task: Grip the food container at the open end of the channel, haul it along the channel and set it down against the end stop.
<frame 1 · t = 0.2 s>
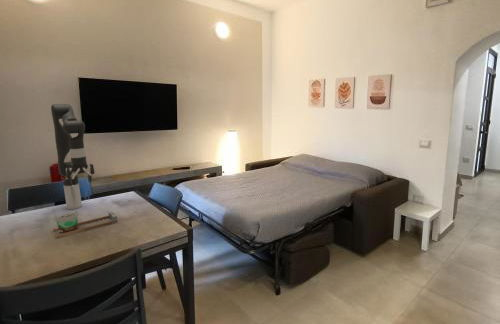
hand: (81, 183, 164), 28 cm above the table, tool pointing down, fingers open, 8 cm apart
guide channel: (87, 226, 172), on the table
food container: (70, 231, 167), resting in guide channel
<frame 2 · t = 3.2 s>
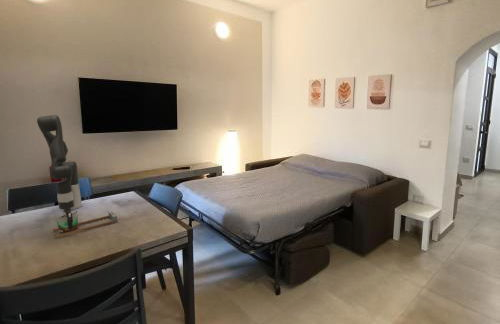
hand: (69, 226, 167), 2 cm above the table, tool pointing down, fingers closed on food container, 5 cm apart
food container: (70, 231, 167), resting in guide channel, touching gripper
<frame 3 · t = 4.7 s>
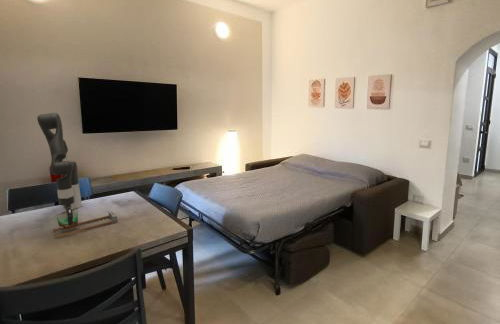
hand: (70, 222, 166), 5 cm above the table, tool pointing down, fingers closed on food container, 5 cm apart
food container: (70, 227, 166), point 2 cm above the table, touching gripper
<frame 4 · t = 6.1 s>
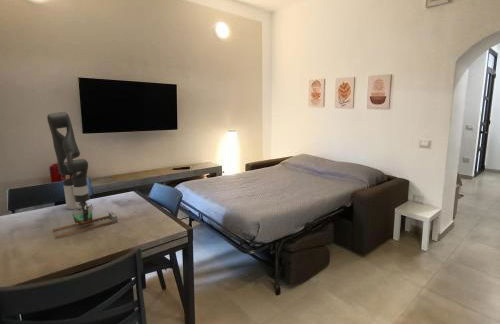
hand: (85, 219, 171), 5 cm above the table, tool pointing down, fingers closed on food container, 5 cm apart
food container: (85, 223, 171), point 2 cm above the table, touching gripper
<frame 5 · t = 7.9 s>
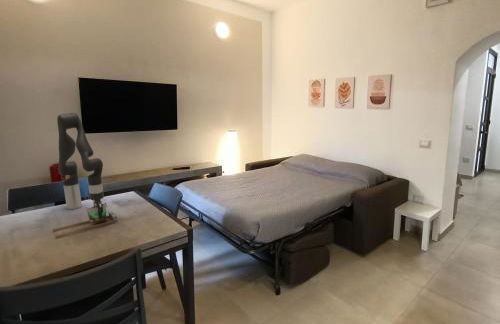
hand: (99, 216, 176), 4 cm above the table, tool pointing down, fingers closed on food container, 5 cm apart
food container: (100, 221, 176), point 1 cm above the table, touching gripper
when the fingers open (3 cm above the table, at t = 8.9 s): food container moves 1 cm, resting in guide channel.
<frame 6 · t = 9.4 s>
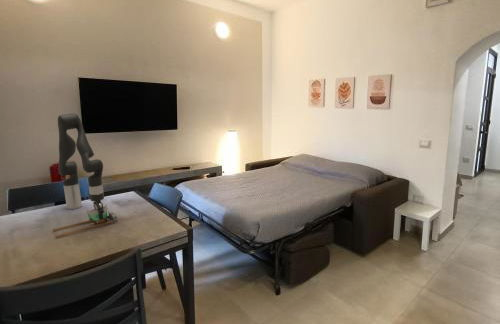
hand: (99, 217, 176), 4 cm above the table, tool pointing down, fingers open, 8 cm apart
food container: (101, 223, 176), resting in guide channel, touching gripper
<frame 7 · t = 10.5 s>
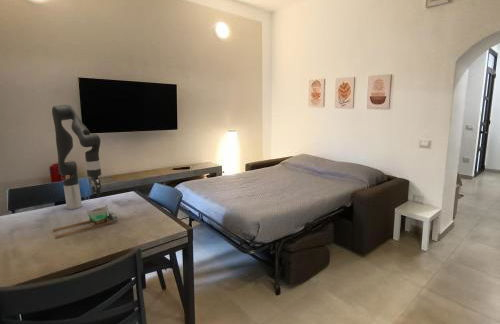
hand: (96, 193, 173), 19 cm above the table, tool pointing down, fingers open, 8 cm apart
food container: (101, 224, 176), resting in guide channel
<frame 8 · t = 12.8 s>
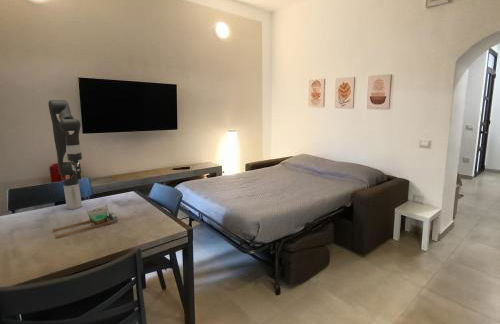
hand: (77, 177, 175), 28 cm above the table, tool pointing down, fingers open, 8 cm apart
nothing on the table moved.
at the end: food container 1.6 cm from the target spot, resting in guide channel; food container tilted 0°; the gripper is holding nothing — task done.
